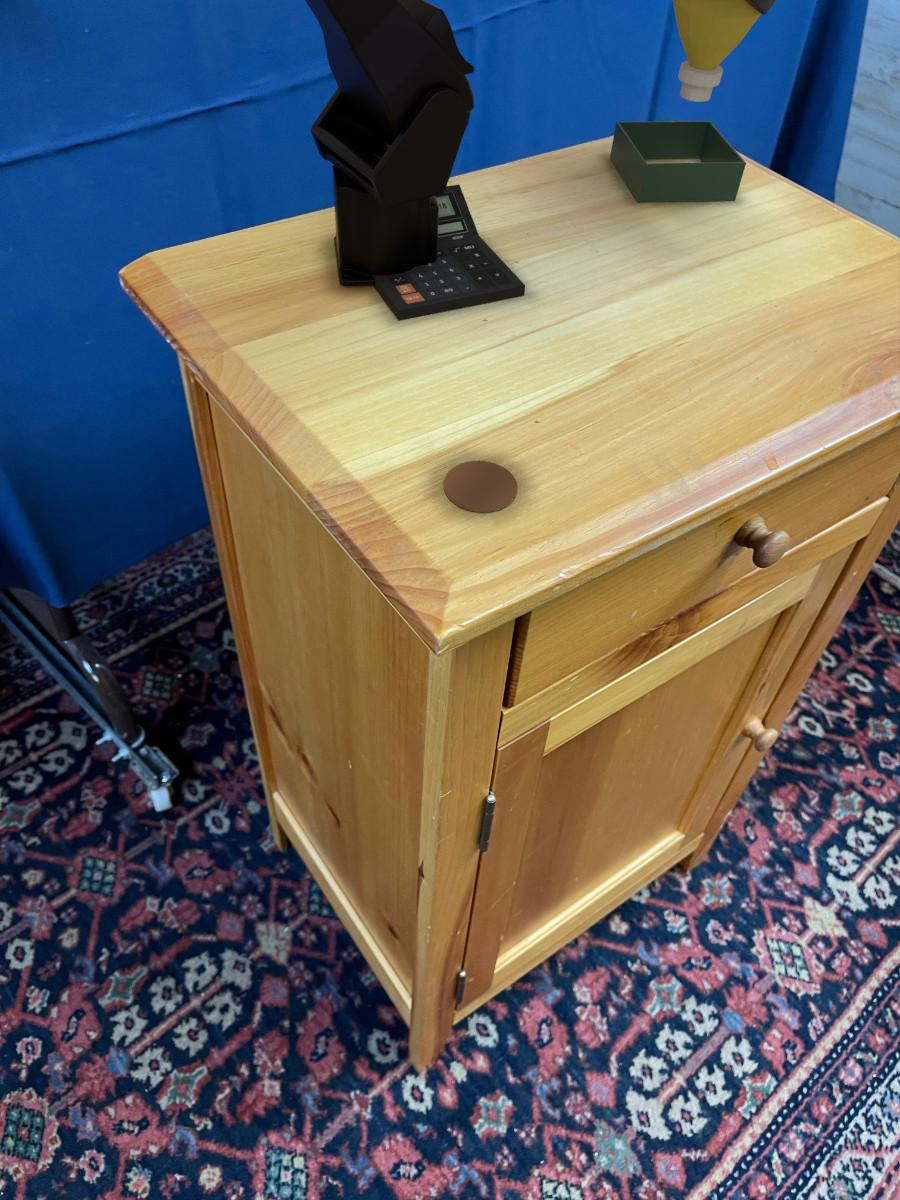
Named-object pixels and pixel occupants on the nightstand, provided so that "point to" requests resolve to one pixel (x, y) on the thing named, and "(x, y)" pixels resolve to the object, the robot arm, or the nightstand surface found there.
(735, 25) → the light bulb
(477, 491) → the coaster
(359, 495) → the nightstand surface
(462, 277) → the calculator
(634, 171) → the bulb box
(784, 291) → the nightstand surface
